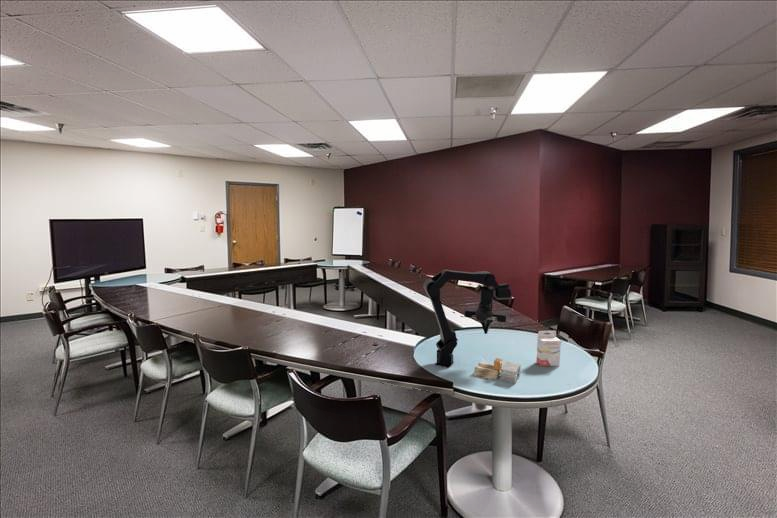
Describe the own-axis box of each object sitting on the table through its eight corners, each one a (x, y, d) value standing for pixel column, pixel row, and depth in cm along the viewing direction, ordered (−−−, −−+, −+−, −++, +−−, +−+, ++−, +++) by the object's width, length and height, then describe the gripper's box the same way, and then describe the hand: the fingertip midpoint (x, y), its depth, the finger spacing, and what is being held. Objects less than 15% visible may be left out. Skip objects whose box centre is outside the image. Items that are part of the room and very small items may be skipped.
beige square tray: (473, 375, 158) (473, 368, 158) (480, 366, 167) (480, 360, 166) (495, 380, 153) (496, 373, 153) (502, 371, 162) (502, 364, 161)
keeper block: (500, 380, 154) (500, 368, 153) (505, 372, 160) (505, 361, 160) (515, 383, 150) (515, 371, 150) (520, 375, 157) (520, 364, 156)
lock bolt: (493, 373, 157) (494, 360, 156) (495, 370, 160) (496, 358, 159) (513, 377, 153) (513, 364, 152) (515, 374, 156) (515, 362, 155)
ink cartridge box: (540, 366, 166) (542, 334, 164) (536, 362, 171) (537, 330, 168) (560, 366, 166) (561, 333, 164) (554, 361, 171) (556, 329, 169)
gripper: (460, 301, 167) (459, 335, 169) (502, 306, 157) (502, 342, 159) (468, 296, 176) (468, 328, 178) (509, 300, 166) (508, 334, 169)
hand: (485, 333), depth 171 cm, fingers closed
